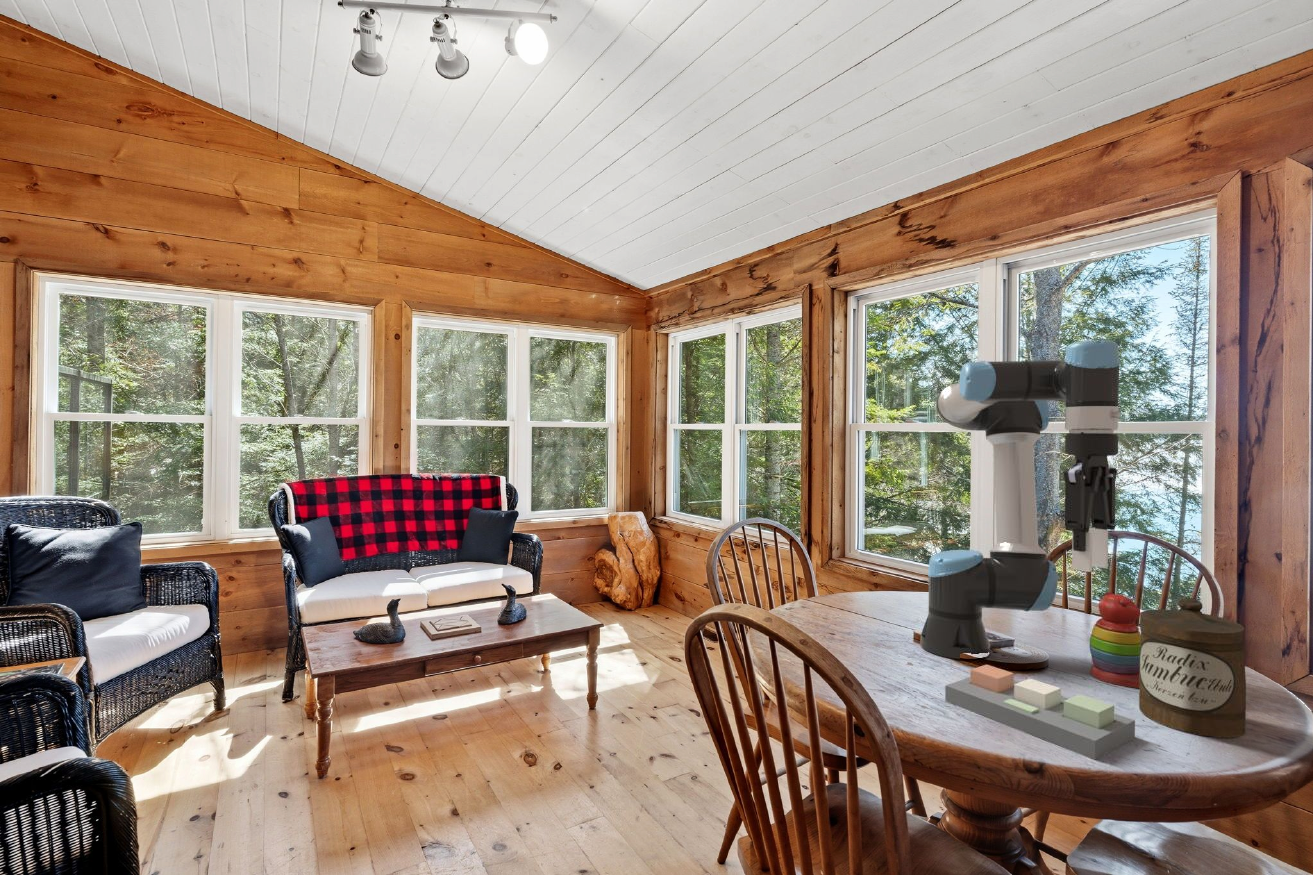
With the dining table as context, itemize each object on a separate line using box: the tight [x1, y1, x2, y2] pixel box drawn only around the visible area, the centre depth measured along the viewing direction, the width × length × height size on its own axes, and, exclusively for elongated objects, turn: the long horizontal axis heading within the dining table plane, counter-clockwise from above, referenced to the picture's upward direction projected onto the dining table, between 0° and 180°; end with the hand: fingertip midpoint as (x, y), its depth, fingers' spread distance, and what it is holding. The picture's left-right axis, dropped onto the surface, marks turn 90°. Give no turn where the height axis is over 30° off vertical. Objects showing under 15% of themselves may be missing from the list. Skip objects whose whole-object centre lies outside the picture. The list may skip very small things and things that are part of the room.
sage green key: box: [1064, 694, 1115, 729], centre depth 109 cm, size 5×5×3 cm
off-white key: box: [1014, 678, 1062, 710], centre depth 117 cm, size 5×5×3 cm
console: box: [944, 676, 1136, 760], centre depth 116 cm, size 26×14×3 cm, turn 32°
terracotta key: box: [970, 664, 1015, 693], centre depth 124 cm, size 5×5×3 cm
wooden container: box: [1138, 597, 1247, 739], centre depth 116 cm, size 15×15×22 cm
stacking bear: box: [1089, 591, 1141, 689], centre depth 135 cm, size 11×10×18 cm
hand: (1090, 568), depth 109 cm, fingers open, 5 cm apart
